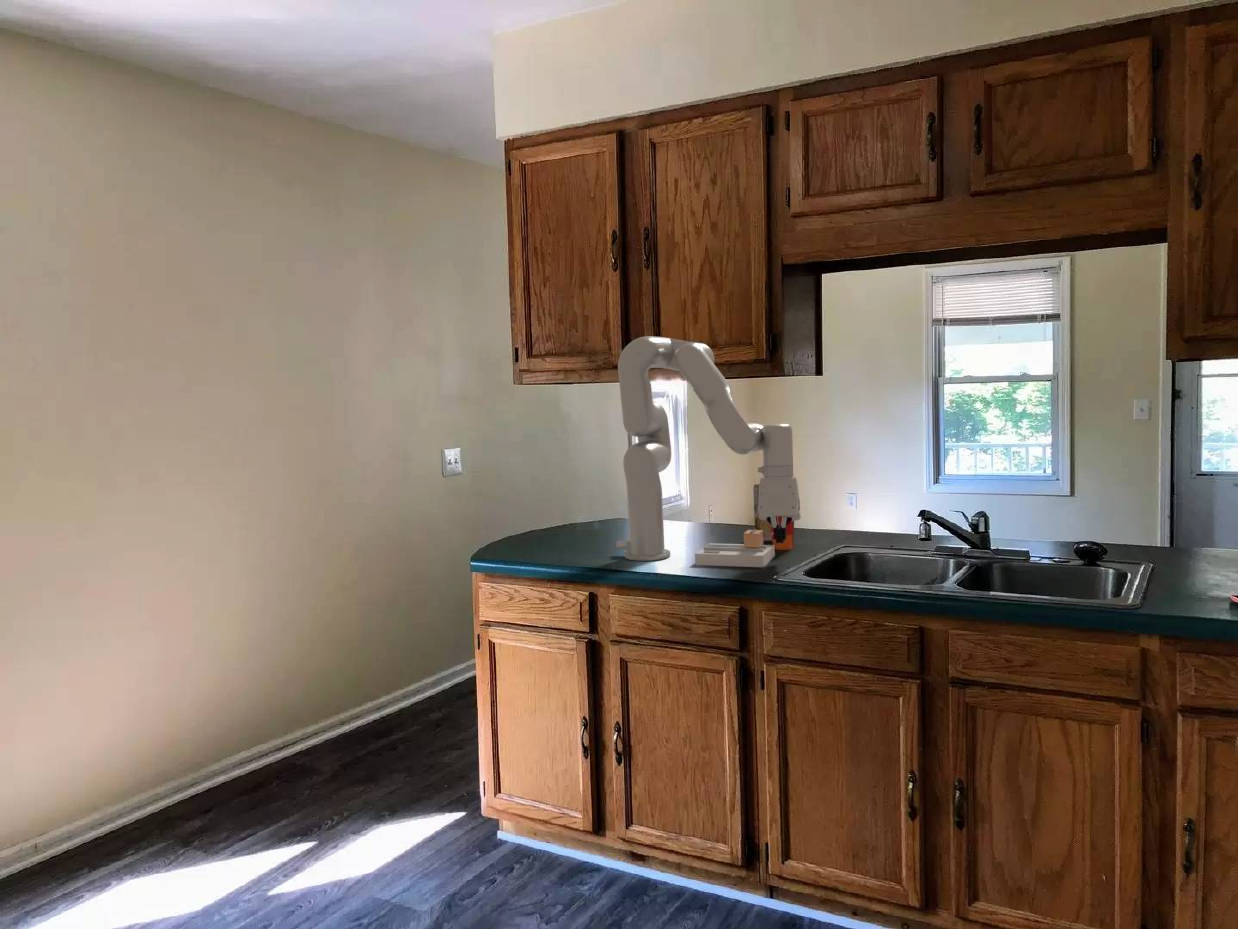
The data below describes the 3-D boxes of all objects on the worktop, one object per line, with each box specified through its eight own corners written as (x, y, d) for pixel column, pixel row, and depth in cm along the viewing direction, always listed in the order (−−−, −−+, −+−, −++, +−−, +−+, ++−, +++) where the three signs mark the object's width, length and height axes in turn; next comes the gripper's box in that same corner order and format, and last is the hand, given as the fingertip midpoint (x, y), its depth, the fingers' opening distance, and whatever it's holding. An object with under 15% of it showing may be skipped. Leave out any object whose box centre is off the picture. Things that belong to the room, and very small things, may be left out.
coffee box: (787, 537, 274) (786, 483, 273) (786, 541, 268) (784, 486, 267) (756, 537, 277) (754, 483, 275) (754, 541, 270) (752, 486, 269)
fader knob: (744, 551, 241) (743, 532, 240) (748, 547, 246) (747, 528, 245) (759, 551, 240) (758, 532, 239) (763, 547, 244) (762, 529, 244)
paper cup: (777, 544, 264) (776, 495, 262) (802, 546, 259) (800, 497, 257) (763, 549, 258) (762, 499, 256) (788, 552, 253) (786, 501, 251)
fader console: (695, 564, 241) (694, 550, 241) (709, 554, 254) (709, 540, 254) (763, 567, 235) (763, 552, 235) (774, 556, 248) (774, 542, 248)
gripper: (746, 473, 237) (748, 544, 239) (805, 473, 232) (806, 545, 234) (753, 470, 244) (755, 538, 246) (810, 470, 239) (811, 540, 241)
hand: (780, 542), depth 240 cm, fingers closed
